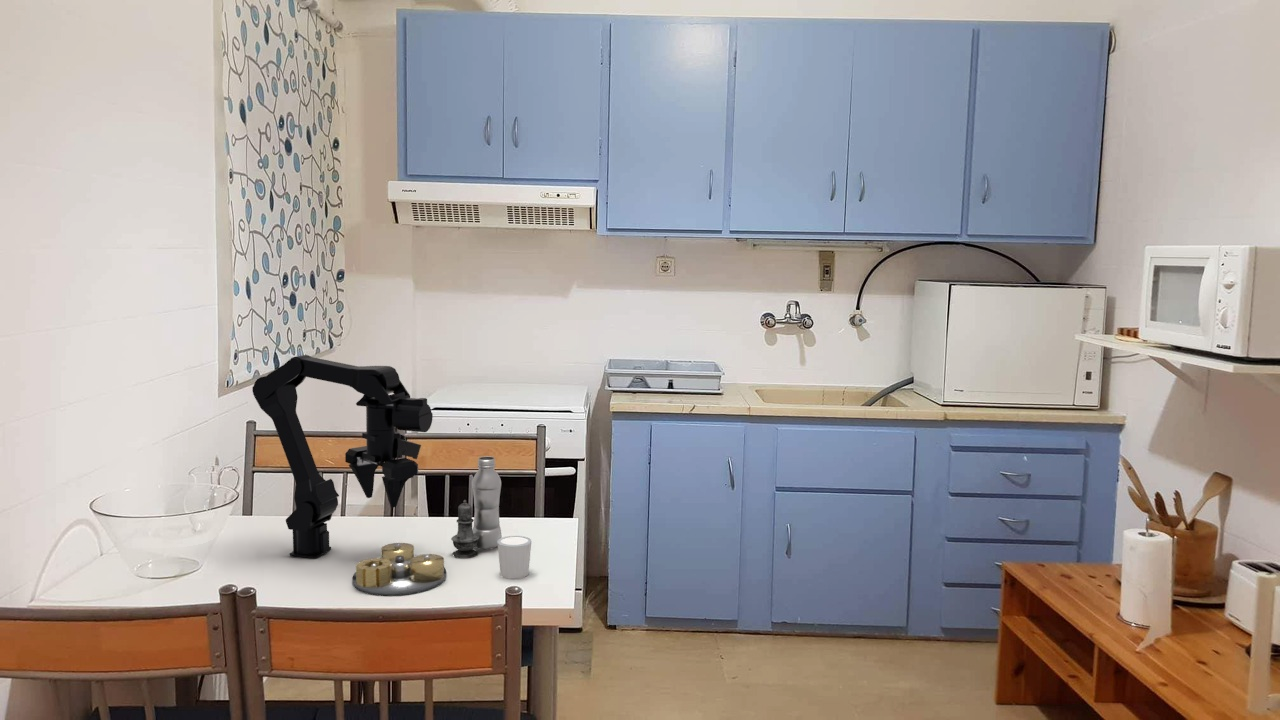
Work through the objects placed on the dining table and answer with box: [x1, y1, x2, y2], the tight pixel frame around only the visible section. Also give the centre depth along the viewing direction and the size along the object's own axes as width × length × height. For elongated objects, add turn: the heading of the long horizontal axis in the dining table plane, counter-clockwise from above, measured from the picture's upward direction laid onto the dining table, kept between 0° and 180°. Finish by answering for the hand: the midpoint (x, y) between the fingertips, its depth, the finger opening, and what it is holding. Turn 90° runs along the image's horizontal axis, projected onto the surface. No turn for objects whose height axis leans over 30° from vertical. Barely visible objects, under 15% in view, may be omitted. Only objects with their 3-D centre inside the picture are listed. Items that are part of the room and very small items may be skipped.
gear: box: [355, 557, 392, 588], centre depth 183 cm, size 6×6×4 cm
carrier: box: [352, 542, 447, 597], centre depth 187 cm, size 18×18×5 cm
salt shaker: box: [450, 499, 479, 559], centre depth 202 cm, size 6×6×12 cm
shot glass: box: [497, 535, 532, 580], centre depth 191 cm, size 7×7×7 cm
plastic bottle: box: [471, 455, 503, 550], centre depth 206 cm, size 6×7×20 cm
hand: (381, 502), depth 196 cm, fingers open, 9 cm apart
